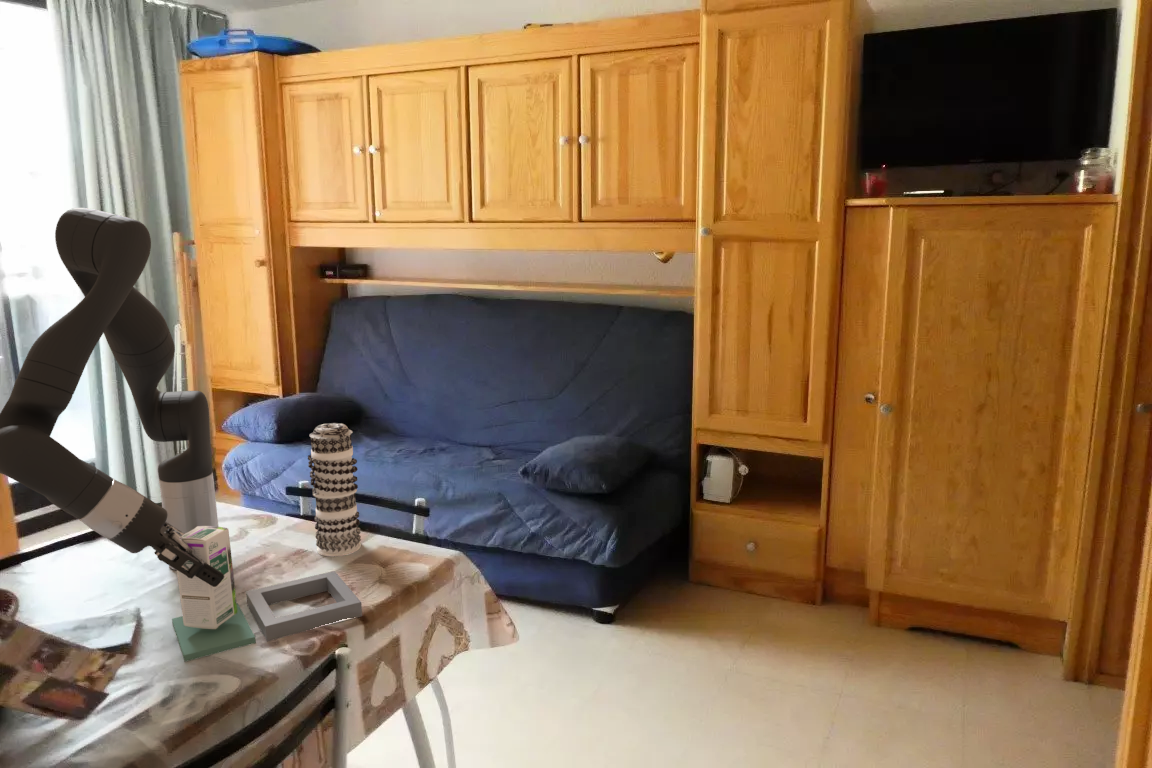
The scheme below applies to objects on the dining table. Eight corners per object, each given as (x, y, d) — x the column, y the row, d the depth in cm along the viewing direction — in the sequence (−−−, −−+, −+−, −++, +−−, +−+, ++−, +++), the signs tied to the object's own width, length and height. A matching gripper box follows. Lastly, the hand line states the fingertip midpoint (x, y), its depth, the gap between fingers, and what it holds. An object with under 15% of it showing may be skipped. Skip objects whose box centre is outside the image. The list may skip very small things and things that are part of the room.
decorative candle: (305, 549, 163) (295, 427, 159) (345, 536, 170) (337, 418, 166) (331, 561, 157) (322, 434, 153) (372, 546, 164) (364, 424, 160)
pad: (172, 624, 133) (171, 618, 133) (238, 608, 138) (237, 603, 138) (184, 661, 121) (183, 655, 121) (255, 642, 127) (255, 636, 126)
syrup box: (215, 630, 126) (207, 540, 123) (181, 626, 127) (172, 537, 124) (238, 613, 131) (230, 526, 129) (205, 610, 132) (196, 524, 130)
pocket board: (247, 605, 139) (245, 591, 139) (335, 583, 147) (334, 570, 147) (266, 641, 127) (265, 626, 126) (362, 616, 135) (361, 601, 134)
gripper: (146, 508, 115) (241, 567, 124) (137, 483, 127) (224, 538, 135) (107, 552, 114) (206, 609, 122) (102, 522, 125) (192, 576, 134)
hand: (215, 572), depth 129 cm, fingers closed on syrup box, 8 cm apart
